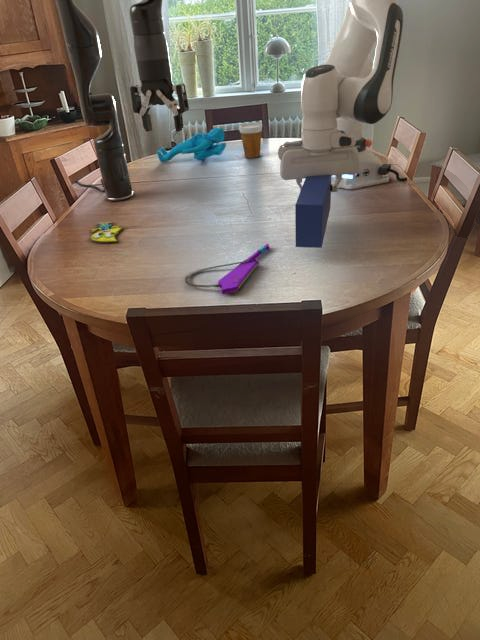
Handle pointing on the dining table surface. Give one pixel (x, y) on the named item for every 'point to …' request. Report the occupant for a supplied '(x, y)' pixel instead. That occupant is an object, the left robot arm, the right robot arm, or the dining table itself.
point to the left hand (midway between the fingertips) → (164, 131)
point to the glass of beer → (251, 139)
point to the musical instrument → (234, 273)
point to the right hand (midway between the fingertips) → (318, 192)
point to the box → (313, 211)
